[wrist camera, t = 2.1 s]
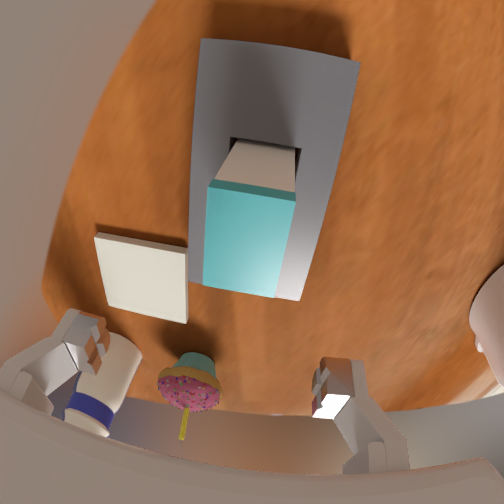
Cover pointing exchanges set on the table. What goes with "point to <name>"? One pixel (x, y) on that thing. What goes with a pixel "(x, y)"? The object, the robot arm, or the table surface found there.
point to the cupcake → (190, 385)
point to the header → (270, 134)
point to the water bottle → (103, 388)
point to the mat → (144, 276)
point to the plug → (249, 217)
